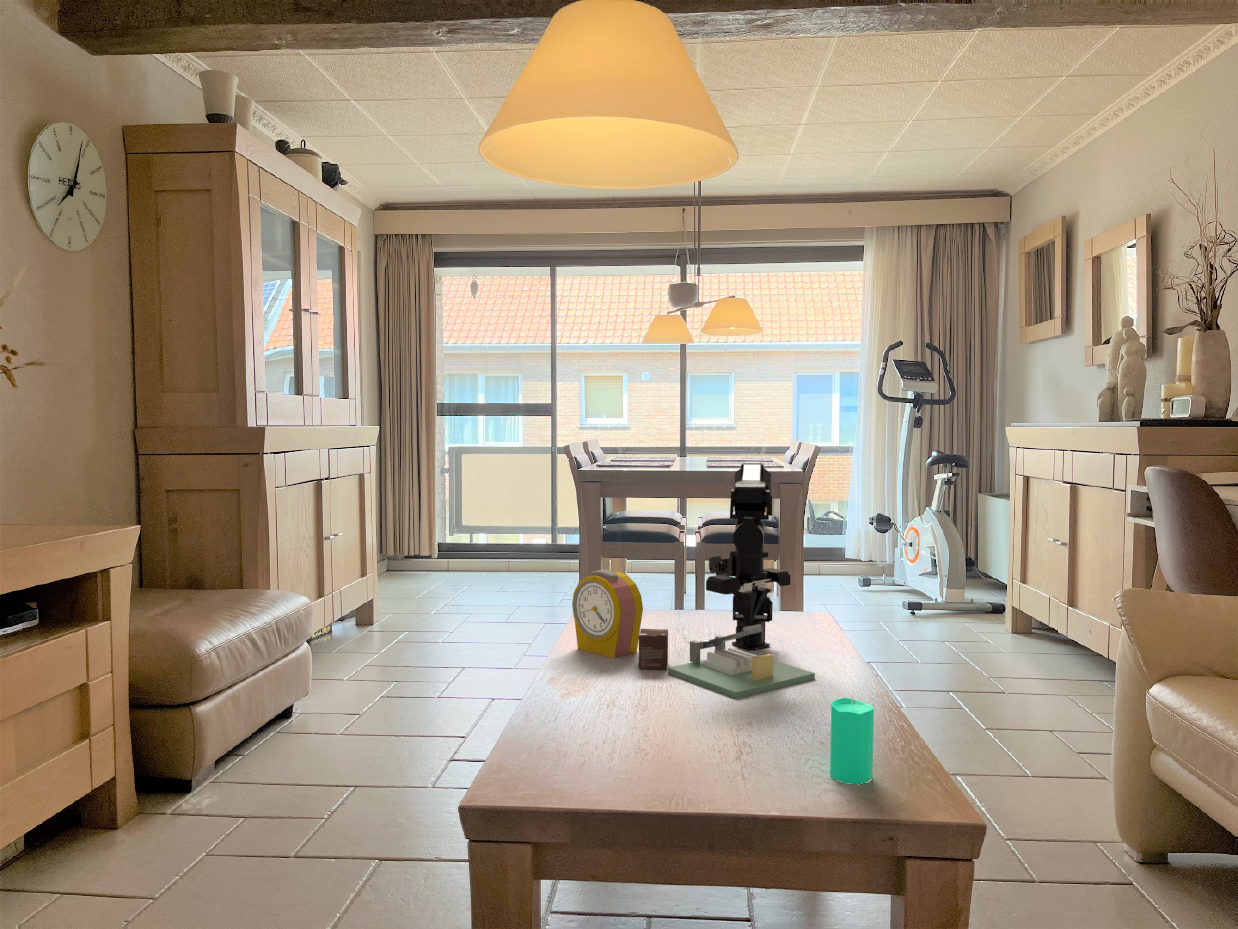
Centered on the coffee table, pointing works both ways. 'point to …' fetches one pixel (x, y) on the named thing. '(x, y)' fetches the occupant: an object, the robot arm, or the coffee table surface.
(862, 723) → the candle
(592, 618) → the alarm clock
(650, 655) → the box
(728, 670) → the board
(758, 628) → the grey hinged lever
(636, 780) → the coffee table surface
